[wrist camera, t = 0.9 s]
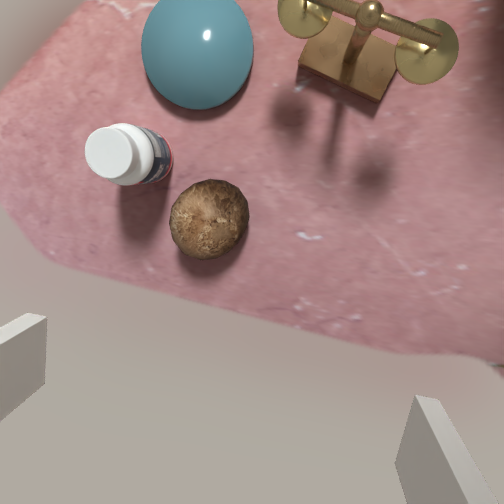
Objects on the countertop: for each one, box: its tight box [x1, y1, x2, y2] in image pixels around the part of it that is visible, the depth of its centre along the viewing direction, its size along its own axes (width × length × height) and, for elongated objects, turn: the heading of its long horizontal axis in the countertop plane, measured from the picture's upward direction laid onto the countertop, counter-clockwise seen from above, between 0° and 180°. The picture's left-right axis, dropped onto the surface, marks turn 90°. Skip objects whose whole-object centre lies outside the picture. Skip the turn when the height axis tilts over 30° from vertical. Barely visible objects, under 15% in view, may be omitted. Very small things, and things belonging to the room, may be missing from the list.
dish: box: [141, 0, 254, 110], centre depth 36 cm, size 10×10×1 cm
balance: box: [278, 0, 459, 103], centre depth 29 cm, size 13×4×12 cm, turn 65°
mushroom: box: [169, 179, 249, 260], centre depth 38 cm, size 8×8×6 cm
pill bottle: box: [85, 123, 173, 186], centre depth 35 cm, size 5×5×9 cm
